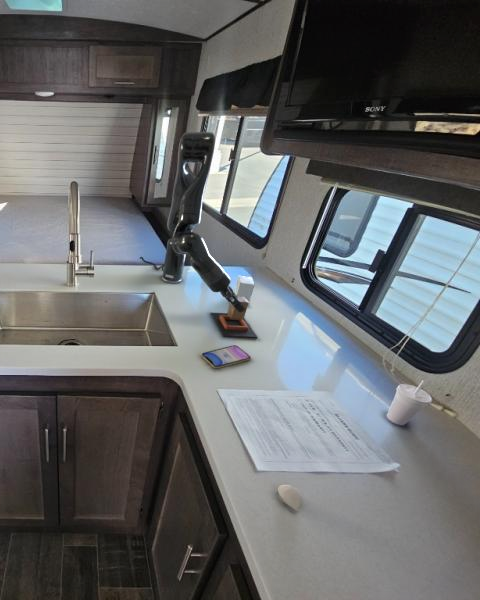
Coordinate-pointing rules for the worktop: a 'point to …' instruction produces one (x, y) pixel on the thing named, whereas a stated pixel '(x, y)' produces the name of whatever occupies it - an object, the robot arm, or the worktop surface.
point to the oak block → (234, 312)
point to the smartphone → (225, 356)
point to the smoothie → (407, 403)
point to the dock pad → (233, 326)
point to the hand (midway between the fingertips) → (239, 307)
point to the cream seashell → (290, 496)
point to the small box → (244, 287)
